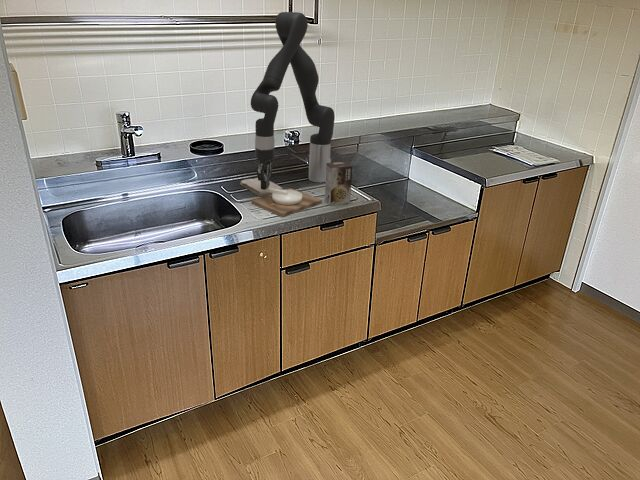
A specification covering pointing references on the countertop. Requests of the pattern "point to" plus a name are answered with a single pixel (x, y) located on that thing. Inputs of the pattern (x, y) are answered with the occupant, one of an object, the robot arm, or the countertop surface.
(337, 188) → the coffee box
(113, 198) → the countertop surface
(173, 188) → the countertop surface
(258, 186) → the washcloth
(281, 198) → the dial
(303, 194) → the dial board
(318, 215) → the countertop surface
